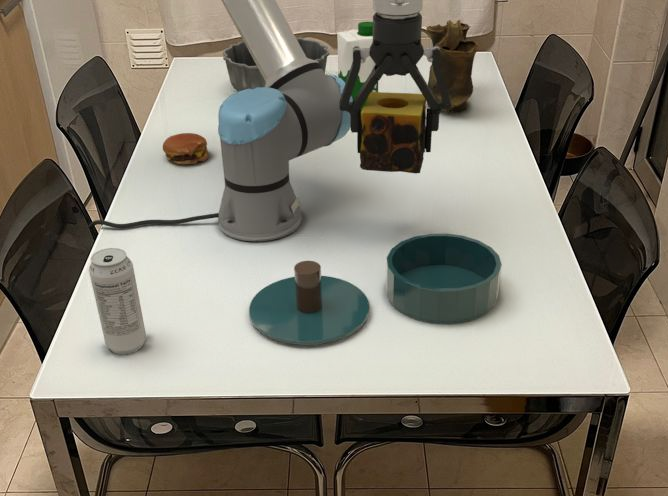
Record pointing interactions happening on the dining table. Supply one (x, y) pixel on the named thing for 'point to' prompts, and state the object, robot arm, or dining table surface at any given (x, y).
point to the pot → (443, 278)
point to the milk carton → (345, 55)
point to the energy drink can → (117, 300)
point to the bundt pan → (247, 71)
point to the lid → (309, 307)
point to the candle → (393, 132)
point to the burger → (186, 148)
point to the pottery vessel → (453, 63)
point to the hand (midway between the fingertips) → (393, 149)
